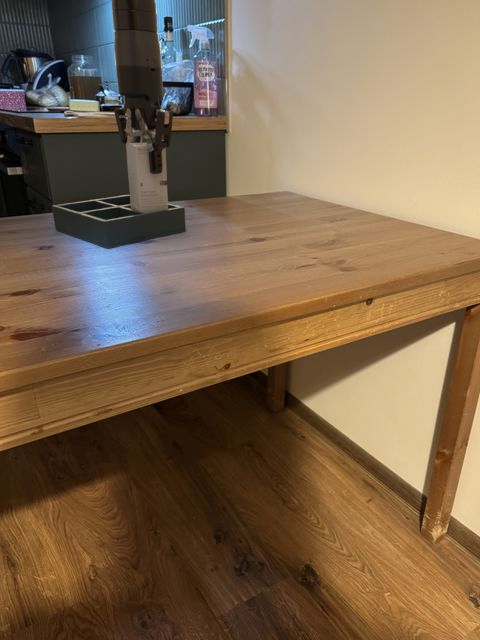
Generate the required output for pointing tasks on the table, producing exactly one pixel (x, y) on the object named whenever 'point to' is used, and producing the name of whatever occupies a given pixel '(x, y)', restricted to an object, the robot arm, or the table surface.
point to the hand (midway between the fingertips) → (147, 171)
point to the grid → (116, 221)
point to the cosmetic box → (146, 180)
